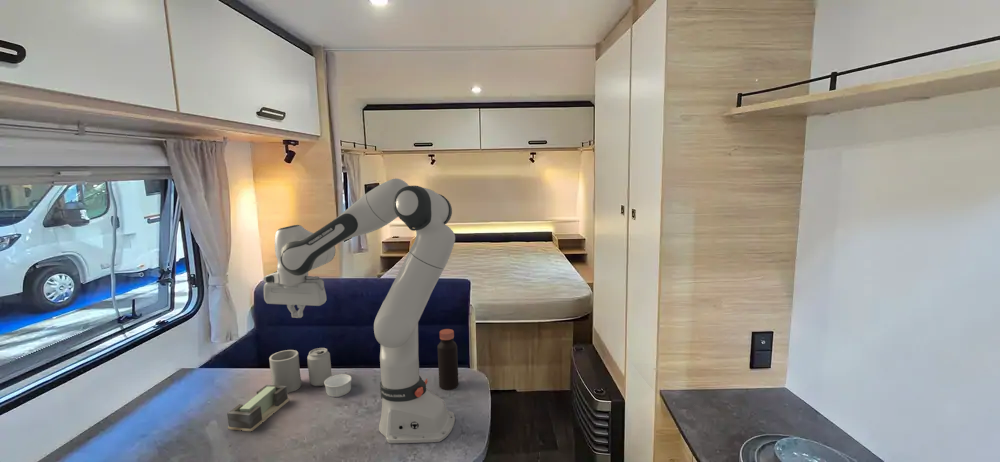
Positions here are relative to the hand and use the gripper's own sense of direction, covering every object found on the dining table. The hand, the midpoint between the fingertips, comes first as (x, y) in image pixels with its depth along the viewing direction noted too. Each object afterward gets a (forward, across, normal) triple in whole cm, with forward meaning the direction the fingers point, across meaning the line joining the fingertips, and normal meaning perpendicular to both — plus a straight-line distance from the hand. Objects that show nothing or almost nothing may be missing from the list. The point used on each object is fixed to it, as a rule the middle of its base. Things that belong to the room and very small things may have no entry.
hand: (297, 317), depth 140 cm
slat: (+28, +9, +10) cm, 31 cm away
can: (+29, +2, -12) cm, 32 cm away
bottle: (+29, -45, -16) cm, 56 cm away
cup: (+29, +12, -7) cm, 33 cm away
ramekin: (+30, -8, -7) cm, 31 cm away
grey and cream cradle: (+29, +9, +10) cm, 32 cm away
